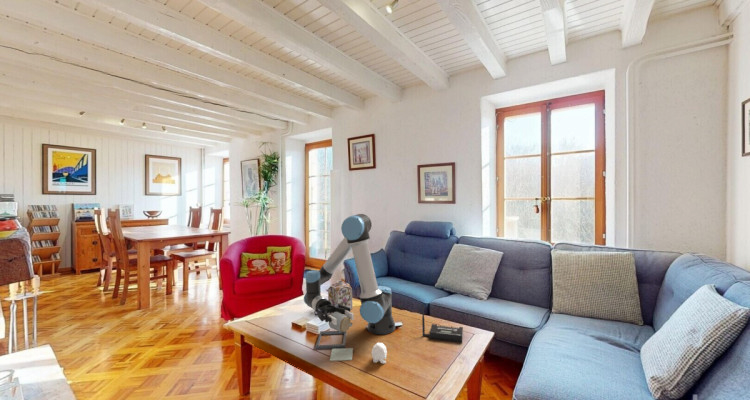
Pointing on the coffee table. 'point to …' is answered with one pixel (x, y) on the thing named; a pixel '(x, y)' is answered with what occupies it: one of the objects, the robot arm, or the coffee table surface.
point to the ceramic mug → (341, 322)
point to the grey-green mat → (341, 354)
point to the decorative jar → (340, 294)
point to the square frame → (330, 345)
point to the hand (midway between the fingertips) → (344, 319)
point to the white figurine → (379, 353)
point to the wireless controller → (443, 332)
